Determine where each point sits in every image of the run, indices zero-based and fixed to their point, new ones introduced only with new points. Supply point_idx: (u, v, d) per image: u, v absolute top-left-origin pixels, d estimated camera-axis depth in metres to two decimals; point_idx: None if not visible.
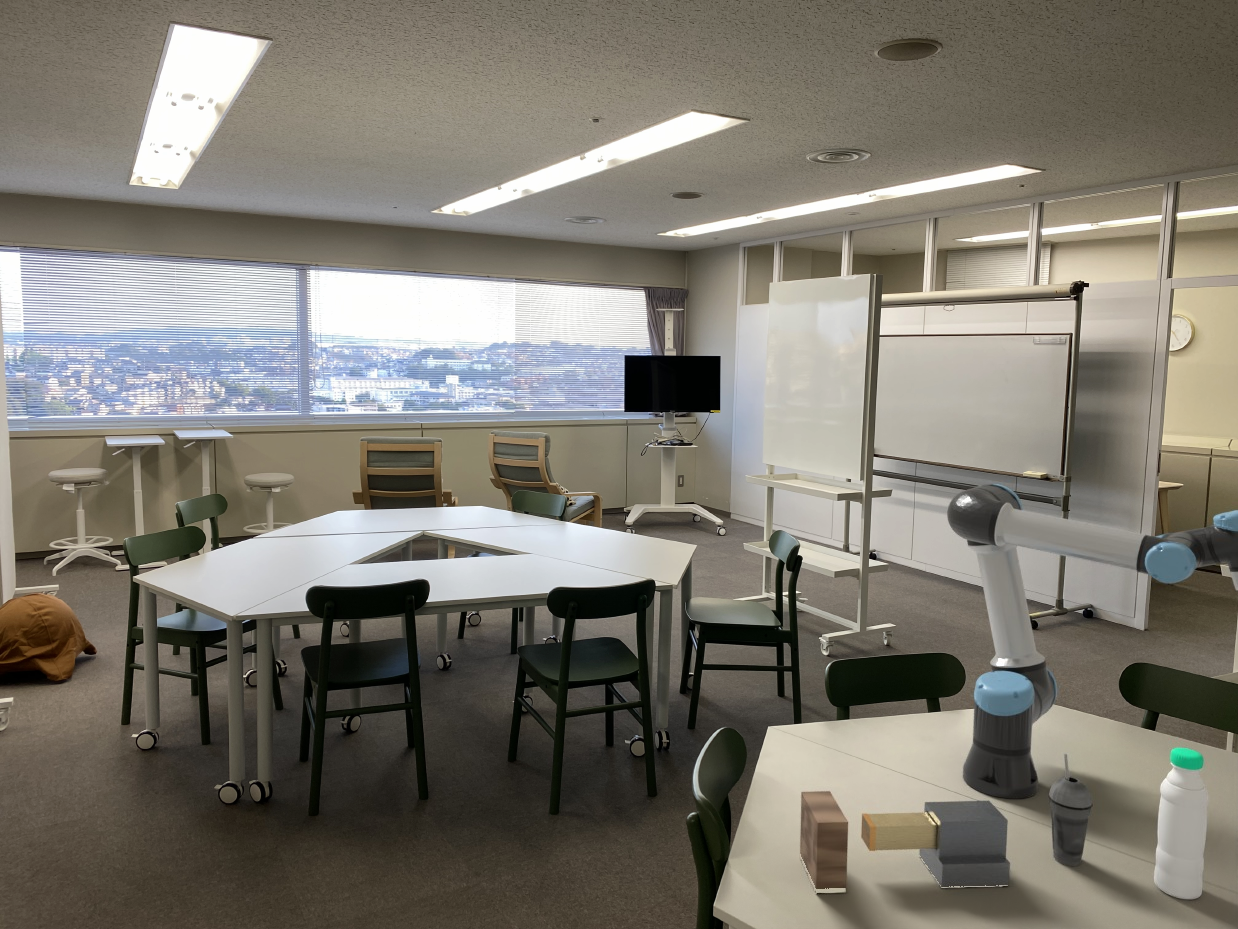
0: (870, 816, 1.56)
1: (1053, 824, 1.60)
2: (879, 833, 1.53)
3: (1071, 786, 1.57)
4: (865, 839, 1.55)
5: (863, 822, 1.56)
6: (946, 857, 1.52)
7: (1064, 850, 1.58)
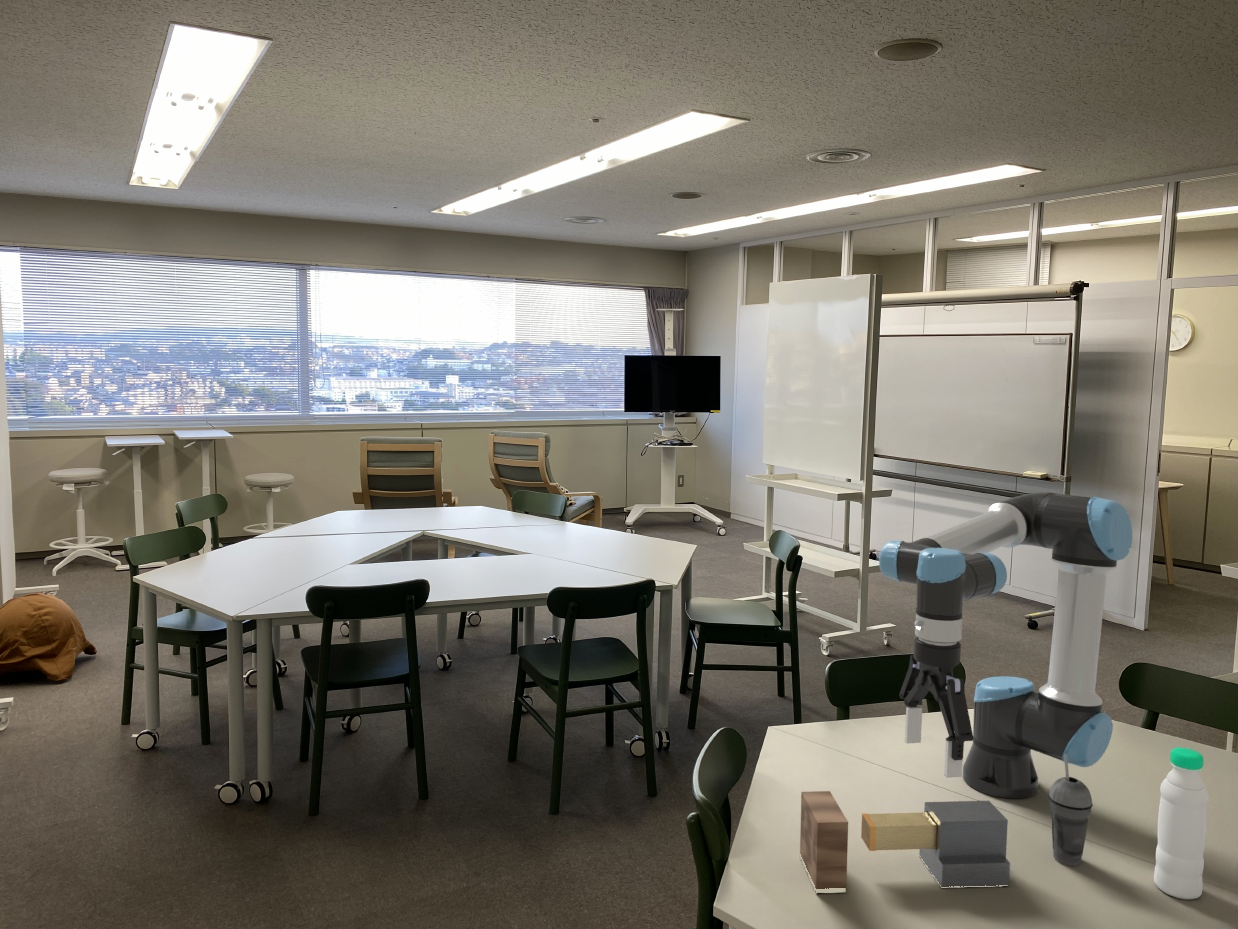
0: (870, 816, 1.56)
1: (1053, 824, 1.60)
2: (879, 833, 1.53)
3: (1071, 786, 1.57)
4: (865, 839, 1.55)
5: (863, 822, 1.56)
6: (946, 857, 1.52)
7: (1064, 850, 1.58)
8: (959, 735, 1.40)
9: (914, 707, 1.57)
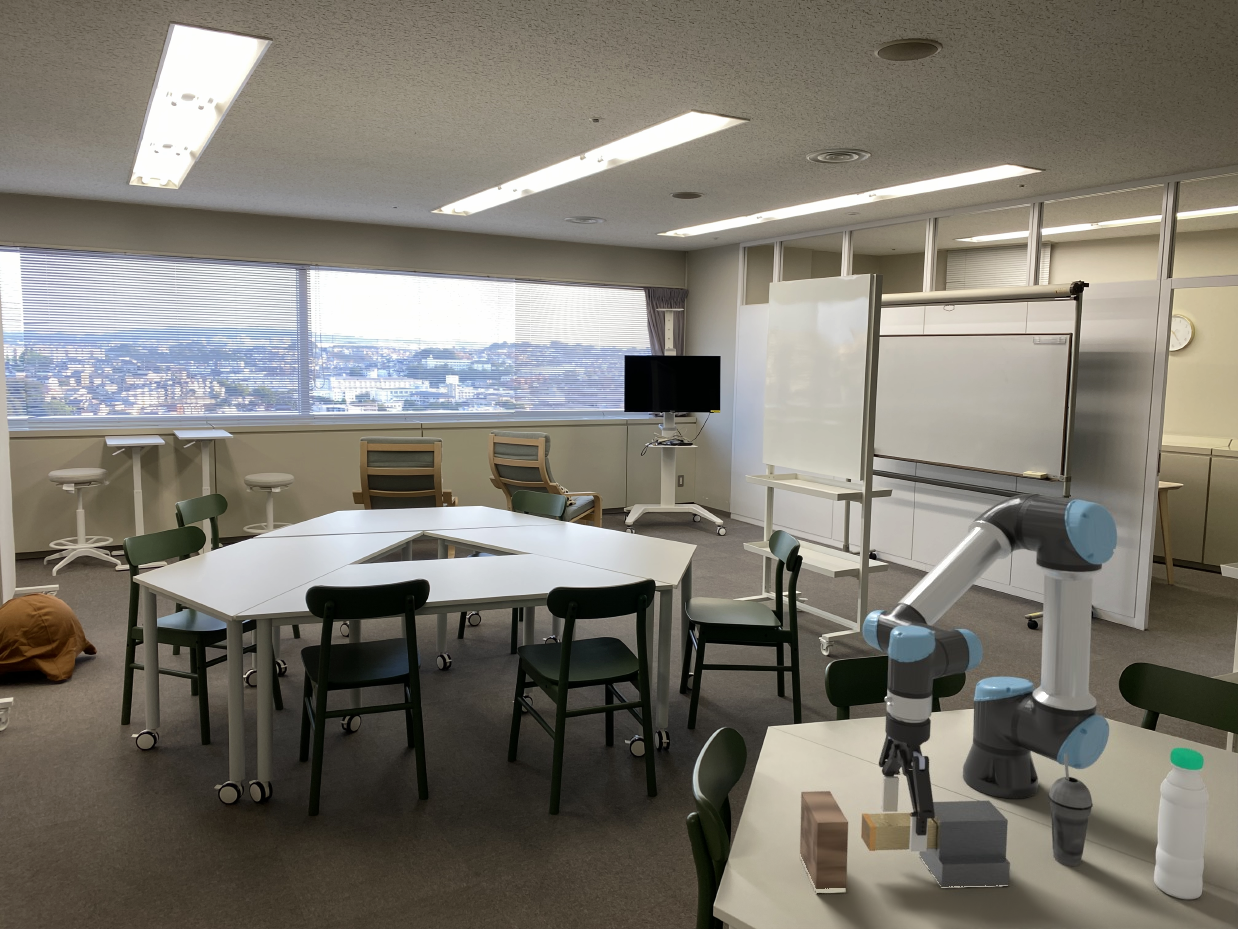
0: (870, 816, 1.56)
1: (1053, 824, 1.60)
2: (879, 833, 1.53)
3: (1071, 786, 1.57)
4: (865, 839, 1.55)
5: (863, 822, 1.56)
6: (946, 857, 1.52)
7: (1064, 850, 1.58)
8: (920, 812, 1.44)
9: (891, 777, 1.61)
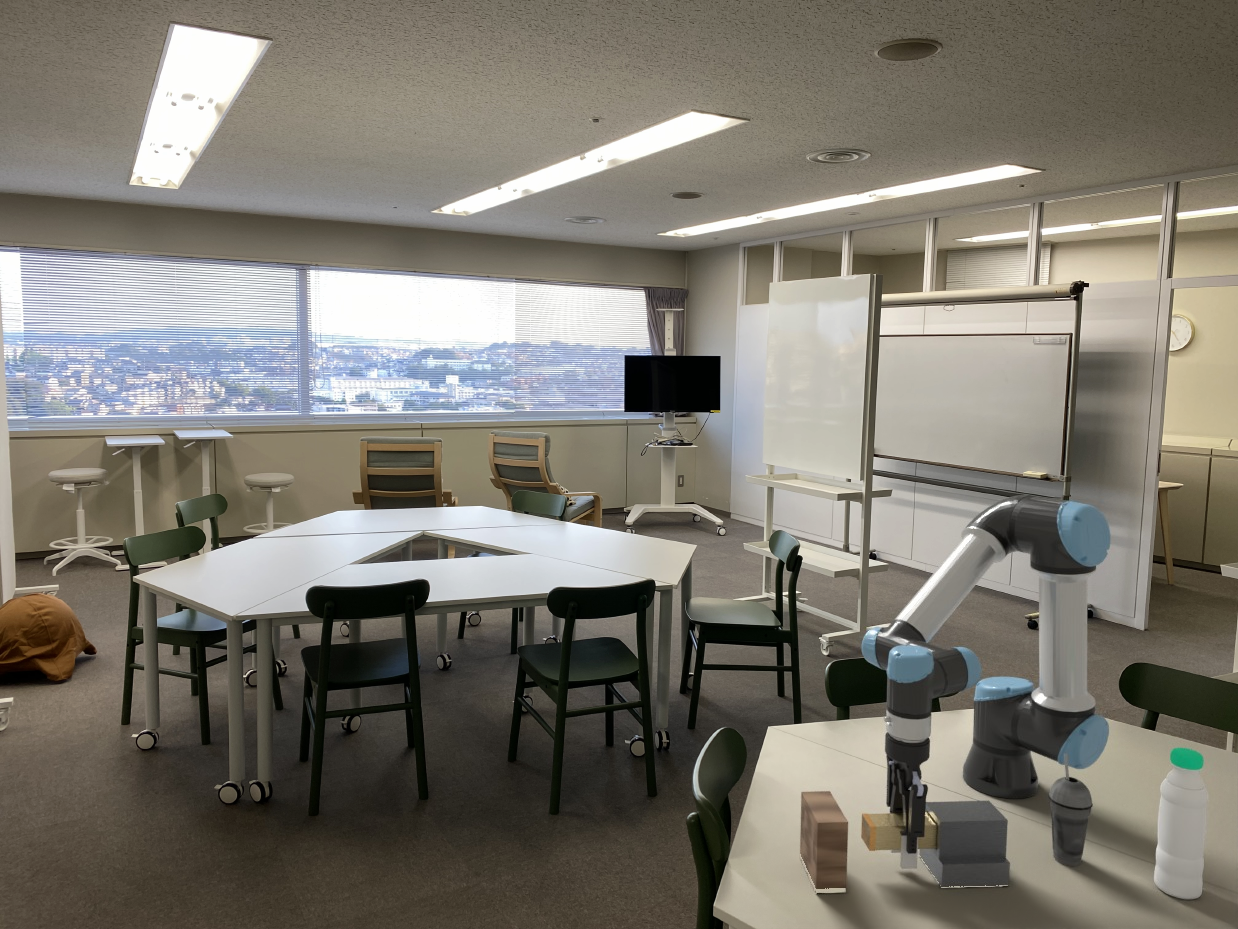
0: (870, 816, 1.56)
1: (1053, 824, 1.60)
2: (879, 833, 1.53)
3: (1071, 786, 1.57)
4: (865, 839, 1.55)
5: (863, 822, 1.56)
6: (946, 857, 1.52)
7: (1064, 850, 1.58)
8: (911, 833, 1.49)
9: None
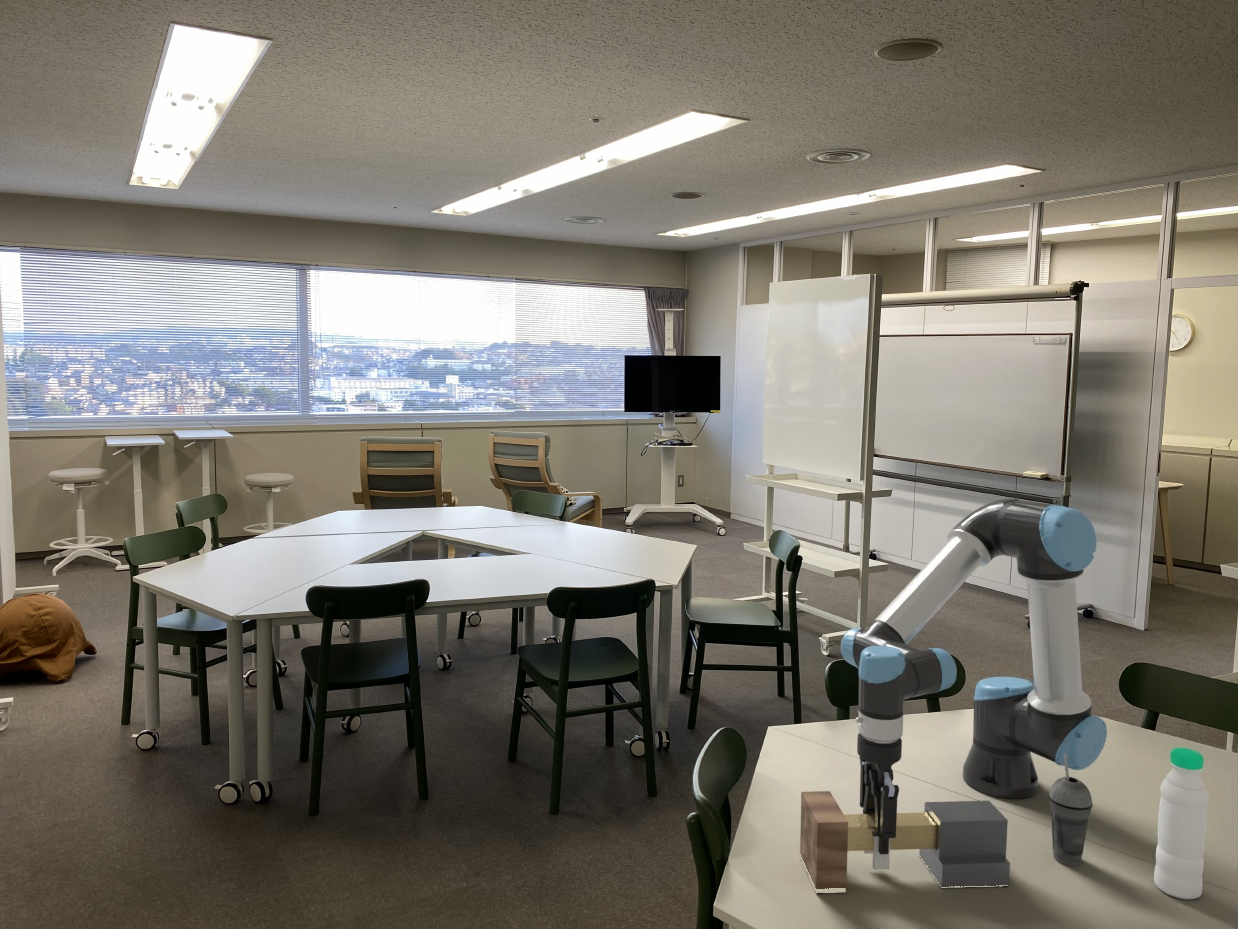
0: None
1: (1053, 824, 1.60)
2: (851, 834, 1.52)
3: (1071, 786, 1.57)
4: None
5: None
6: (946, 857, 1.52)
7: (1064, 850, 1.58)
8: (882, 834, 1.49)
9: None
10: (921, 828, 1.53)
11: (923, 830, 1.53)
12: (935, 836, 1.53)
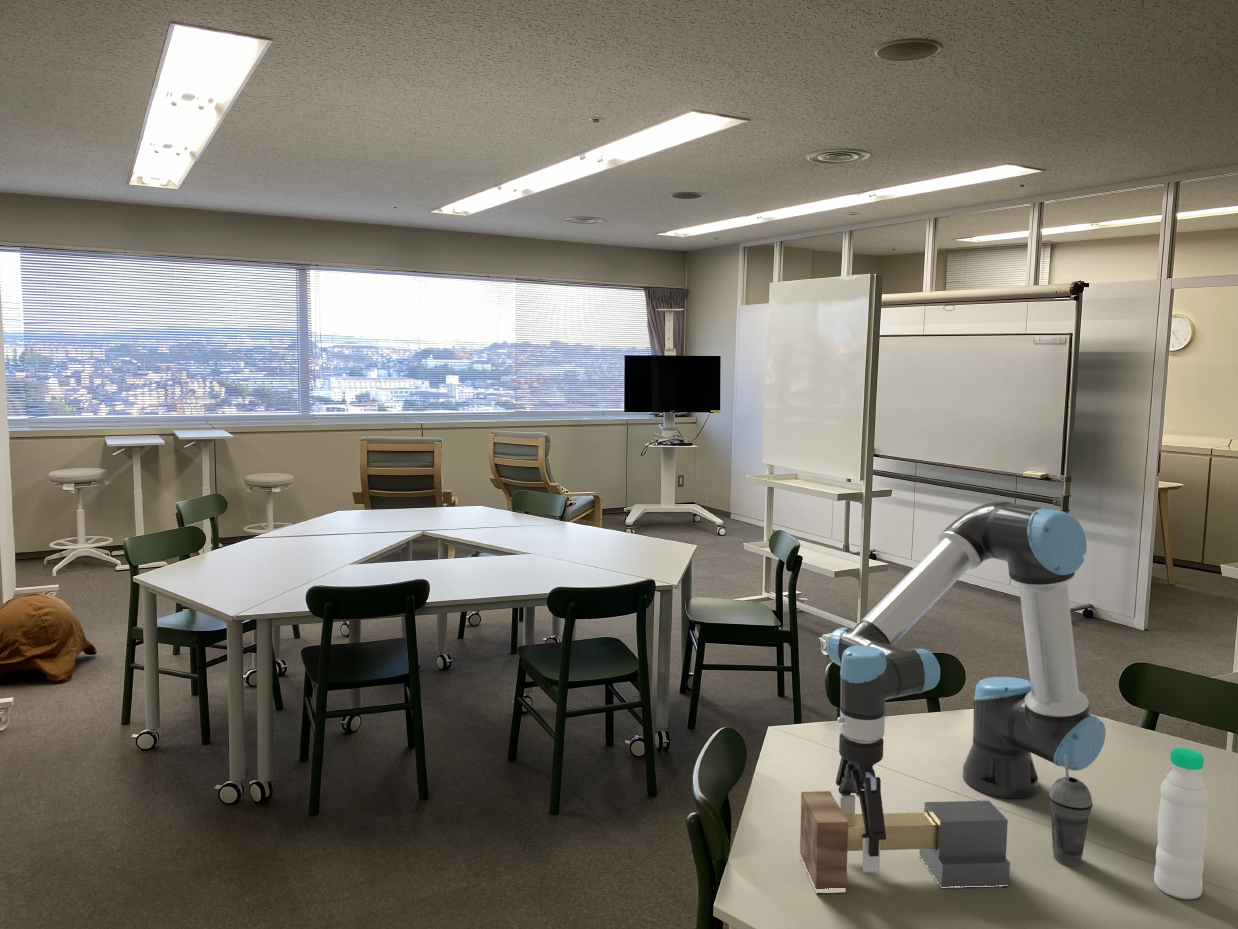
0: None
1: (1053, 824, 1.60)
2: None
3: (1071, 786, 1.57)
4: None
5: None
6: (946, 857, 1.52)
7: (1064, 850, 1.58)
8: (872, 834, 1.44)
9: (847, 795, 1.61)
10: (905, 829, 1.53)
11: (906, 831, 1.53)
12: (918, 836, 1.53)
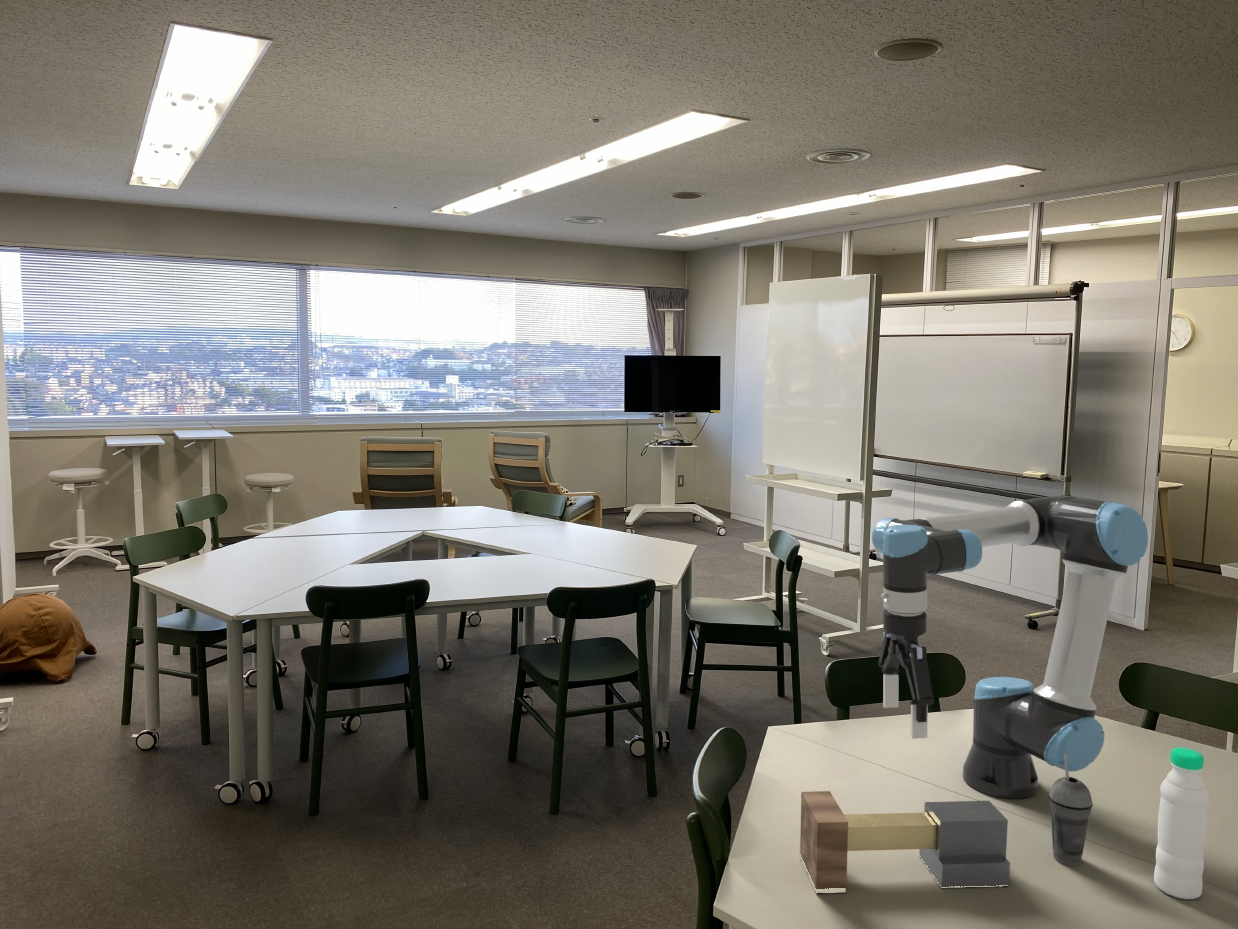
0: None
1: (1053, 824, 1.60)
2: None
3: (1071, 786, 1.57)
4: None
5: None
6: (946, 857, 1.52)
7: (1064, 850, 1.58)
8: (920, 699, 1.50)
9: (891, 674, 1.67)
10: (905, 829, 1.53)
11: (906, 831, 1.53)
12: (918, 836, 1.53)
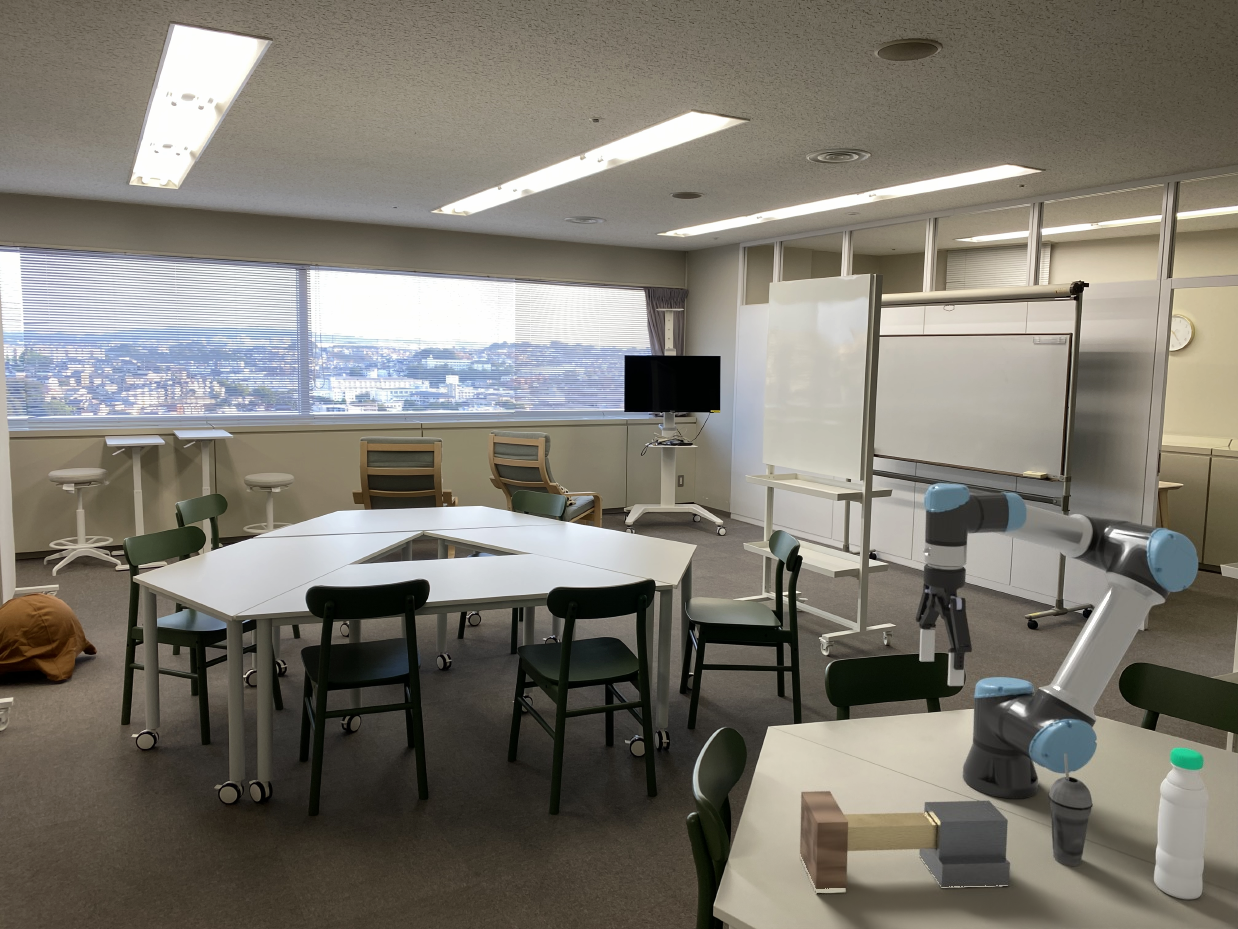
0: None
1: (1053, 824, 1.60)
2: None
3: (1071, 786, 1.57)
4: None
5: None
6: (946, 857, 1.52)
7: (1064, 850, 1.58)
8: (959, 646, 1.57)
9: (928, 629, 1.74)
10: (905, 829, 1.53)
11: (906, 831, 1.53)
12: (918, 836, 1.53)
